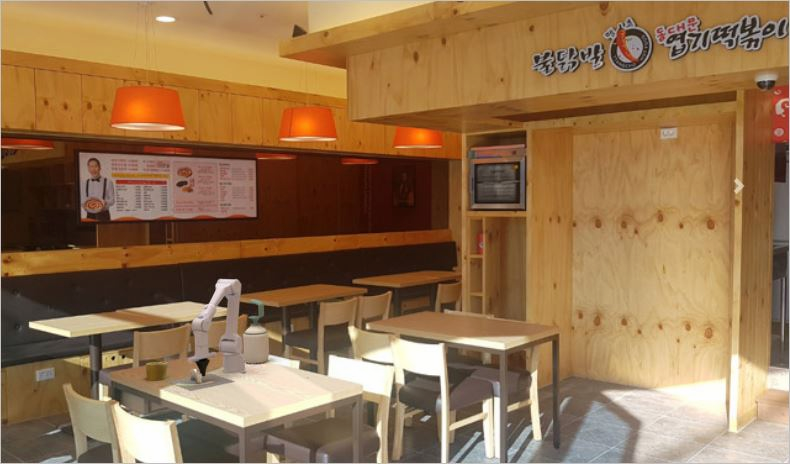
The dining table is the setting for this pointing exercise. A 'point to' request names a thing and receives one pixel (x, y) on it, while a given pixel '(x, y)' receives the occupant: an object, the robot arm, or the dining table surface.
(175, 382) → the tuner board
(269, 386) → the dining table surface
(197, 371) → the tuning dial
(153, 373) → the mug
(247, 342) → the soap bottle
